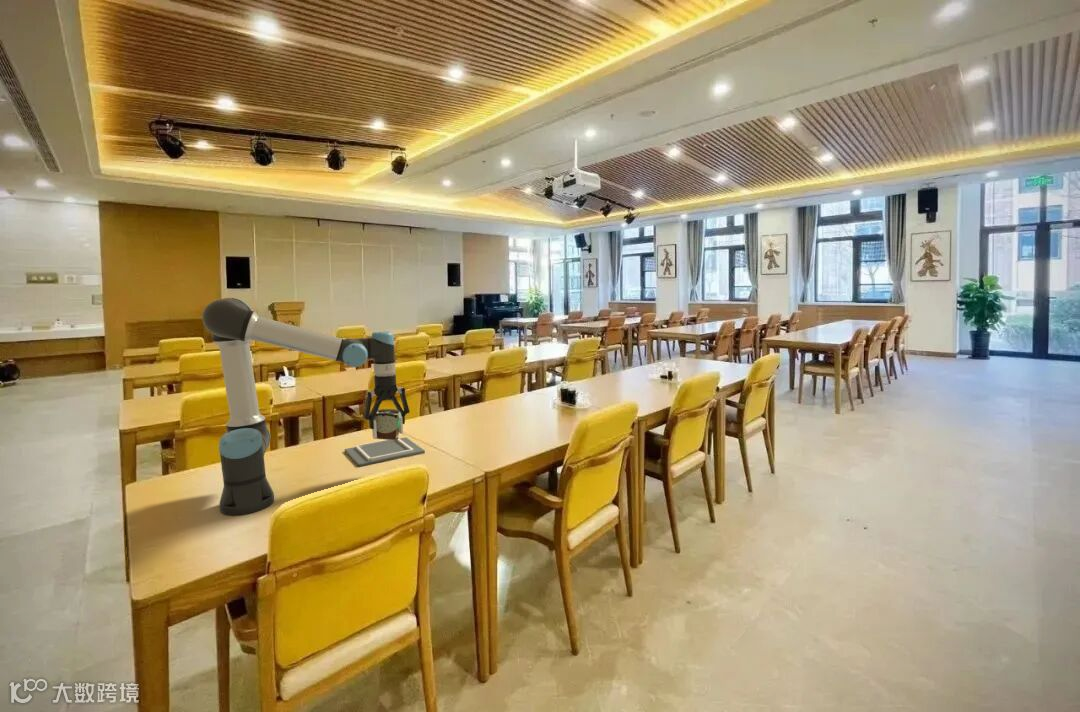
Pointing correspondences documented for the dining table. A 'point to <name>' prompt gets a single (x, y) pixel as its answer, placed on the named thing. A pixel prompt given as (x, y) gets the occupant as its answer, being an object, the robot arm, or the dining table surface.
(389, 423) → the food container
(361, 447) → the dock board
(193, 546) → the dining table surface
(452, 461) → the dining table surface
